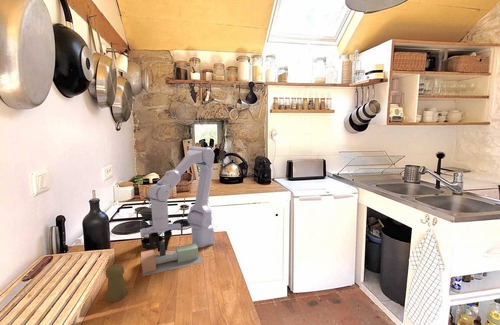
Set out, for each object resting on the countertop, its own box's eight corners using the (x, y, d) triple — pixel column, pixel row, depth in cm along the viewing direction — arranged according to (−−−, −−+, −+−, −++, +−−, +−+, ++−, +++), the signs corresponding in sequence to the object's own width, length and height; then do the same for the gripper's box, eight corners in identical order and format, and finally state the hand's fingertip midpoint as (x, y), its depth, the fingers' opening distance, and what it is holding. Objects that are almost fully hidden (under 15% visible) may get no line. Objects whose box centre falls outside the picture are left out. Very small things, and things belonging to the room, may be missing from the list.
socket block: (153, 259, 107) (153, 249, 106) (156, 269, 100) (155, 259, 99) (141, 262, 105) (140, 252, 104) (143, 272, 98) (142, 261, 97)
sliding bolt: (186, 254, 109) (185, 237, 108) (187, 257, 107) (187, 240, 106) (151, 261, 104) (149, 244, 103) (151, 265, 101) (150, 247, 100)
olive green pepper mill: (122, 289, 90) (119, 259, 88) (131, 297, 86) (128, 265, 84) (103, 299, 85) (100, 267, 83) (112, 307, 81) (108, 274, 79)
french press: (138, 253, 114) (134, 201, 110) (140, 243, 123) (136, 195, 119) (167, 249, 117) (164, 198, 114) (167, 240, 126) (164, 192, 122)
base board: (196, 250, 116) (195, 248, 116) (203, 264, 105) (203, 261, 105) (140, 262, 107) (140, 260, 106) (142, 278, 96) (142, 276, 96)
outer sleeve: (195, 253, 112) (195, 243, 111) (198, 258, 108) (198, 247, 107) (176, 257, 108) (175, 247, 108) (178, 262, 105) (177, 252, 104)
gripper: (140, 222, 95) (142, 258, 97) (181, 216, 101) (183, 250, 103) (138, 216, 101) (141, 250, 103) (178, 210, 107) (179, 242, 109)
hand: (162, 249), depth 103 cm, fingers closed on sliding bolt, 2 cm apart
